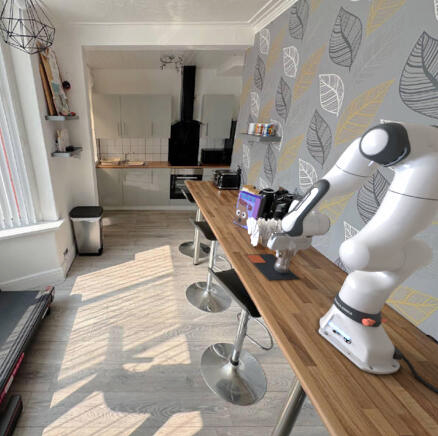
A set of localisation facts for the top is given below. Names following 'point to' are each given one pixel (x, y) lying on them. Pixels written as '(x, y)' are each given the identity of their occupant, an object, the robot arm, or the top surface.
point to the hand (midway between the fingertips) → (284, 256)
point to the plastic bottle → (285, 258)
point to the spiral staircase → (262, 230)
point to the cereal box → (248, 208)
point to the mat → (270, 267)
